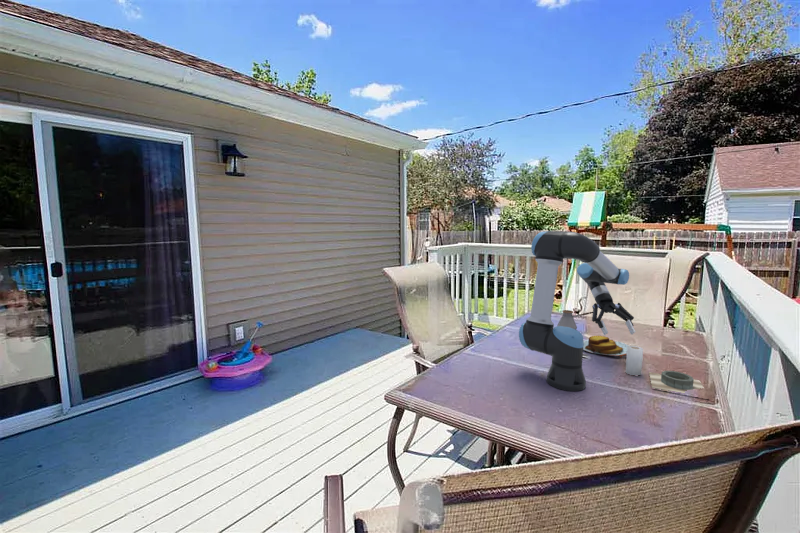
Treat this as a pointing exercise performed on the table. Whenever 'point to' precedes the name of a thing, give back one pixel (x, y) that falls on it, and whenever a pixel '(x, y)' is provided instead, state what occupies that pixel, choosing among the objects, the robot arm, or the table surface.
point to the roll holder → (674, 381)
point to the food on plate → (605, 346)
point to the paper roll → (634, 360)
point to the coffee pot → (569, 319)
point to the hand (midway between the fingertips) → (619, 333)
